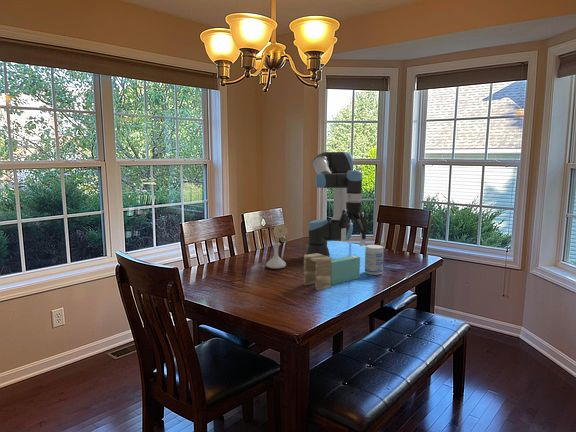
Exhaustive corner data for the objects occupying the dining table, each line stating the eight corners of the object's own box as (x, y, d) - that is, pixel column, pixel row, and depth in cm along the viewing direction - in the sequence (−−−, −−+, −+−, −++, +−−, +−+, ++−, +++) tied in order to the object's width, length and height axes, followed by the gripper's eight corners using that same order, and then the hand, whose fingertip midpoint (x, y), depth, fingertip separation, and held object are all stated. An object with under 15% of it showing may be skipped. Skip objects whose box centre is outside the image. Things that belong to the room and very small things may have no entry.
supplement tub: (379, 276, 219) (380, 249, 217) (362, 274, 223) (362, 247, 221) (384, 272, 227) (385, 245, 225) (368, 269, 232) (368, 243, 230)
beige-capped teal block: (324, 282, 208) (325, 260, 206) (352, 275, 218) (353, 254, 217) (331, 284, 204) (331, 262, 202) (359, 278, 214) (360, 256, 213)
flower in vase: (262, 268, 233) (261, 224, 229) (272, 263, 243) (272, 221, 239) (282, 271, 227) (282, 226, 223) (292, 266, 237) (292, 223, 233)
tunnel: (303, 285, 204) (303, 255, 202) (316, 282, 208) (316, 252, 206) (317, 291, 195) (317, 259, 193) (330, 288, 200) (331, 257, 197)
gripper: (331, 199, 217) (330, 239, 220) (366, 204, 197) (365, 248, 200) (342, 198, 221) (341, 237, 225) (377, 203, 201) (376, 246, 204)
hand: (352, 243), depth 212 cm, fingers open, 13 cm apart
